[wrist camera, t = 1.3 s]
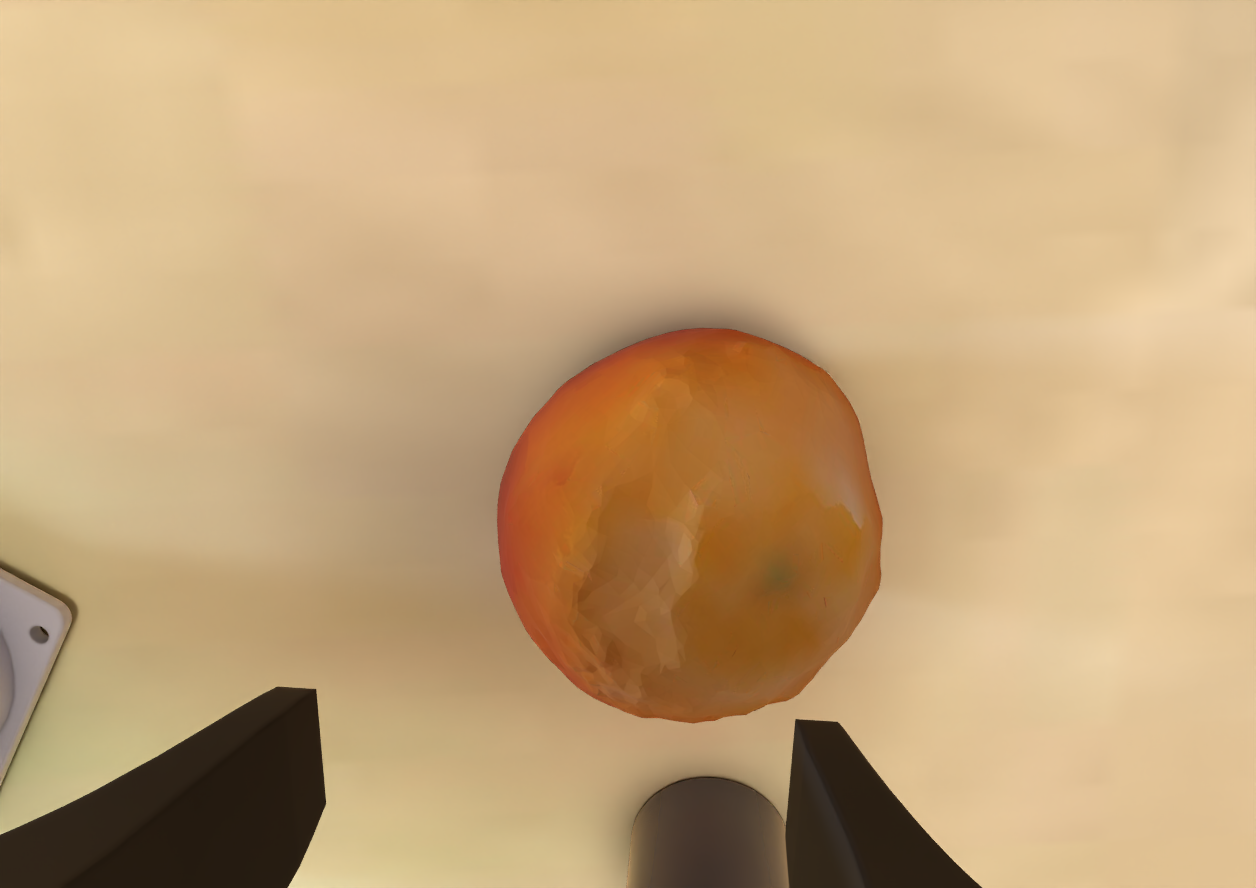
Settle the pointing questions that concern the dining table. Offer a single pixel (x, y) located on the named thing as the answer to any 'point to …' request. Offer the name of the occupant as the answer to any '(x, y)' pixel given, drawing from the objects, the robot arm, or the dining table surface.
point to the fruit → (691, 525)
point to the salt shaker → (708, 839)
